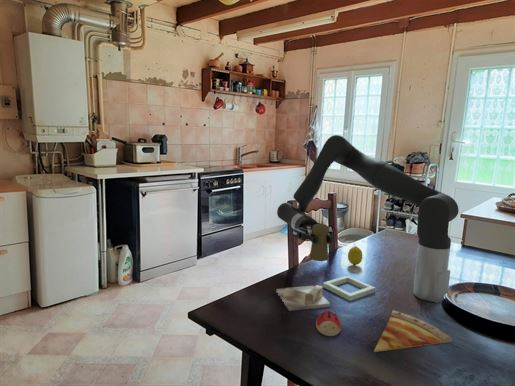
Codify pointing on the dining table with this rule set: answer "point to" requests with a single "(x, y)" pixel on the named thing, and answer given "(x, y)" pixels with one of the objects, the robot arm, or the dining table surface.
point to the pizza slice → (409, 333)
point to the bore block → (349, 296)
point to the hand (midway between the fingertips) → (323, 240)
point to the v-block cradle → (303, 297)
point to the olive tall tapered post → (320, 243)
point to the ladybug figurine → (328, 323)
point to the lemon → (355, 255)
